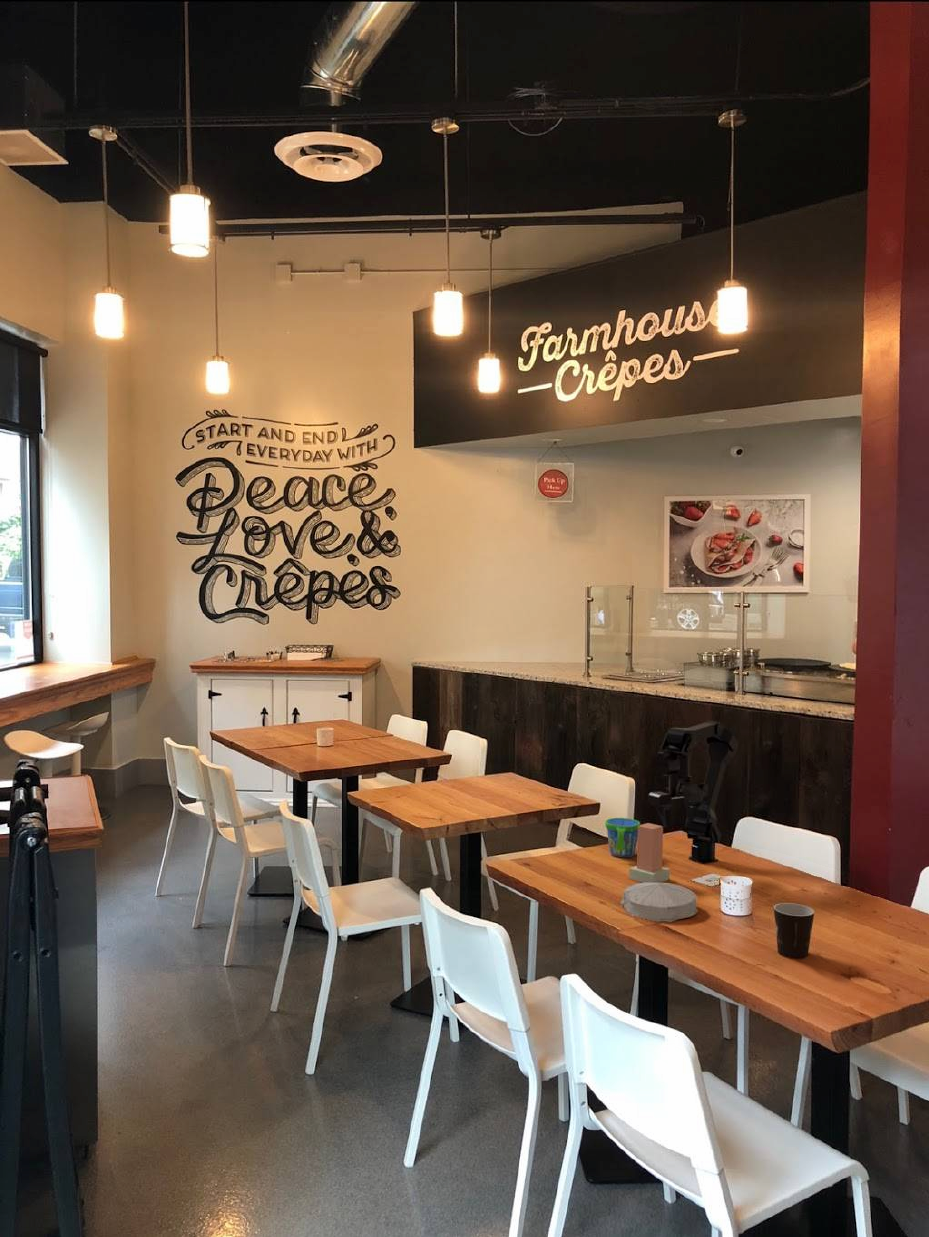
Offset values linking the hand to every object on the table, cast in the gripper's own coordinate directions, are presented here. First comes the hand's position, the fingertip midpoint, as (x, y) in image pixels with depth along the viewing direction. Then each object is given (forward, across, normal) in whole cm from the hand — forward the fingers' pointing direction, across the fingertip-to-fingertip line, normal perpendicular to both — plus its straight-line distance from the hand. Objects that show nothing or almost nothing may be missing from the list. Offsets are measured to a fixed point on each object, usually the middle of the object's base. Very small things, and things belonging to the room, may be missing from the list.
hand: (678, 825), depth 278 cm
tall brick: (+10, -13, -3) cm, 17 cm away
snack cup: (+13, -4, +20) cm, 24 cm away
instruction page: (+13, +2, -12) cm, 18 cm away
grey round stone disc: (+14, -27, -23) cm, 38 cm away
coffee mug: (+13, -22, -61) cm, 66 cm away
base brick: (+13, -13, -3) cm, 19 cm away
